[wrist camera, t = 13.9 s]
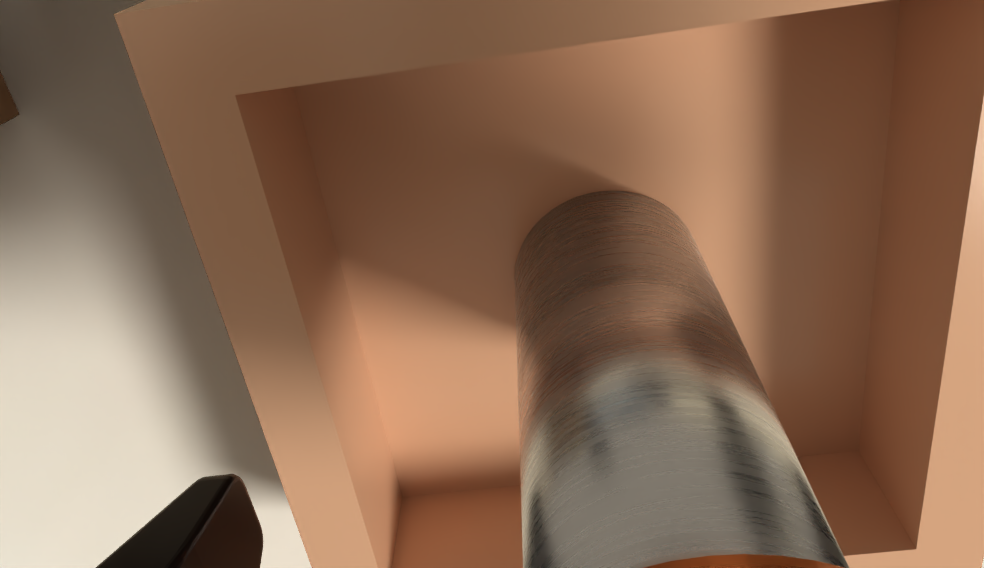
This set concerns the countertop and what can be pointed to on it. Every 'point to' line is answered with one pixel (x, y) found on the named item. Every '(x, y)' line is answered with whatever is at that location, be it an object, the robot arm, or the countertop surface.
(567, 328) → the pin
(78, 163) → the countertop surface
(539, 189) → the open tan box
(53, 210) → the countertop surface
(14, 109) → the taped cardboard box
